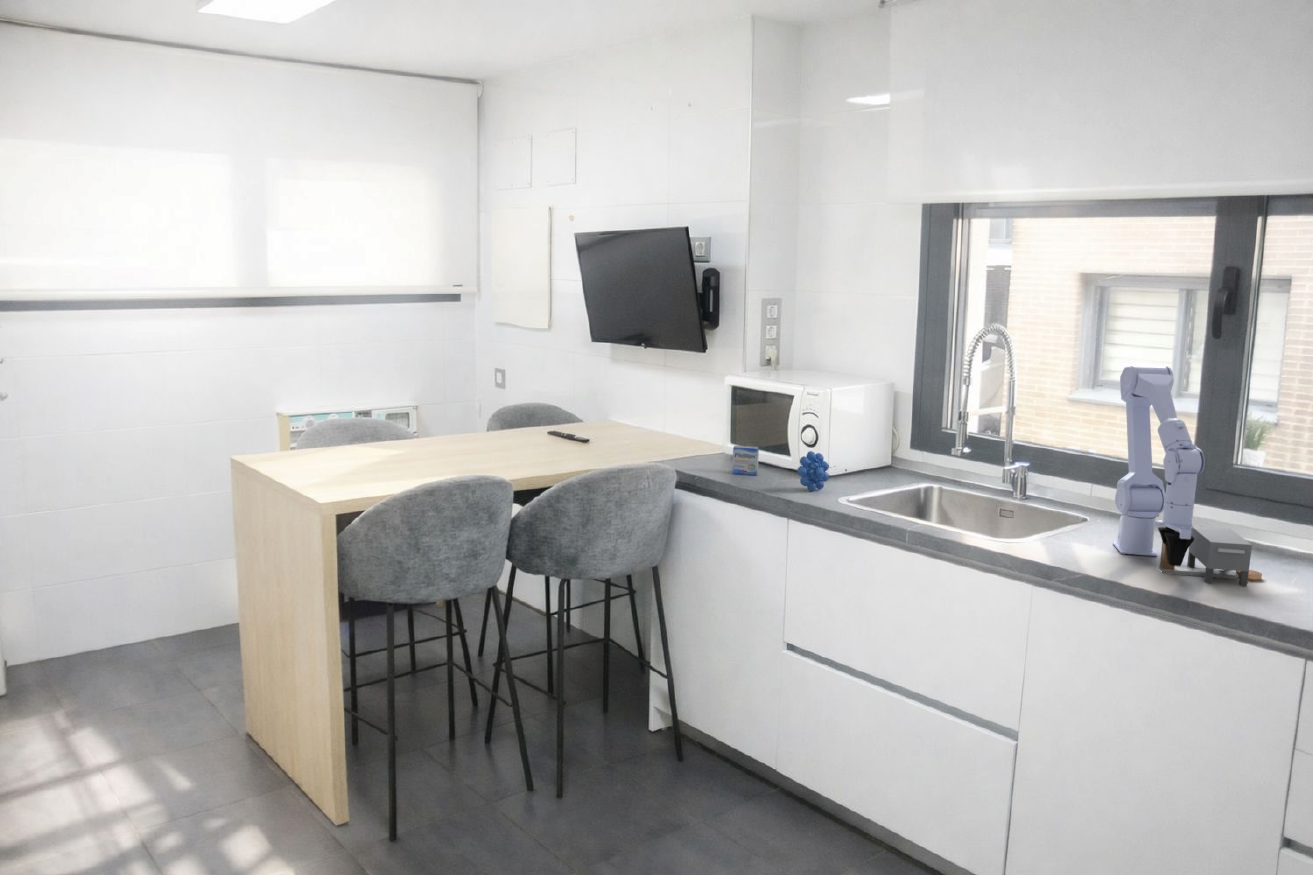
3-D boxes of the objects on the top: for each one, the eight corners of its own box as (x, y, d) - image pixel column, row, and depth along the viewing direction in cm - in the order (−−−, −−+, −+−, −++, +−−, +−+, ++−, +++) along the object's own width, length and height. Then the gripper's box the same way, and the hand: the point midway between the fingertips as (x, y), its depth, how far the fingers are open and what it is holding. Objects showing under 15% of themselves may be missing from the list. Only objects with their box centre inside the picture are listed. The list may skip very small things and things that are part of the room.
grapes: (806, 496, 294) (809, 454, 292) (791, 491, 300) (793, 451, 298) (837, 492, 301) (839, 451, 299) (821, 487, 306) (823, 448, 304)
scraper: (1158, 569, 229) (1161, 541, 228) (1233, 575, 226) (1236, 547, 225) (1162, 573, 227) (1165, 545, 225) (1237, 579, 223) (1241, 550, 222)
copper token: (1231, 574, 227) (1232, 568, 227) (1256, 576, 226) (1257, 570, 226) (1239, 581, 223) (1240, 574, 222) (1264, 583, 222) (1265, 576, 221)
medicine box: (731, 474, 323) (732, 447, 321) (733, 471, 327) (734, 445, 326) (757, 475, 322) (758, 448, 320) (758, 473, 326) (759, 446, 325)
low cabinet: (1187, 564, 233) (1191, 526, 232) (1225, 567, 232) (1230, 528, 230) (1207, 583, 219) (1211, 542, 217) (1248, 587, 217) (1253, 545, 216)
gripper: (1151, 494, 233) (1145, 552, 235) (1168, 508, 219) (1161, 570, 221) (1185, 496, 231) (1178, 555, 234) (1204, 511, 217) (1197, 573, 220)
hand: (1172, 562), depth 227 cm, fingers open, 3 cm apart
